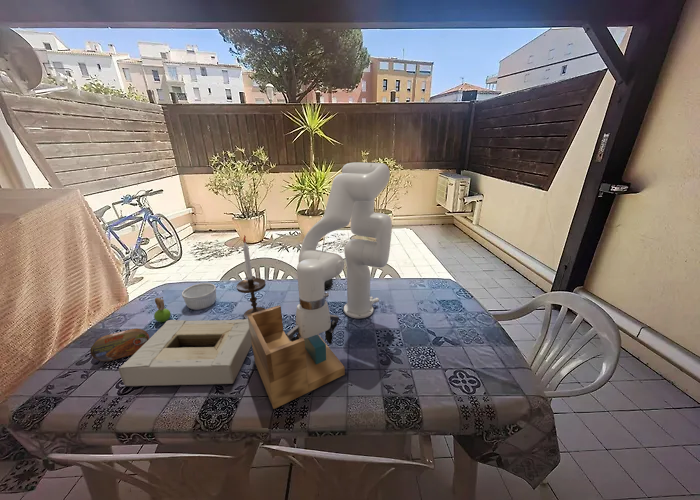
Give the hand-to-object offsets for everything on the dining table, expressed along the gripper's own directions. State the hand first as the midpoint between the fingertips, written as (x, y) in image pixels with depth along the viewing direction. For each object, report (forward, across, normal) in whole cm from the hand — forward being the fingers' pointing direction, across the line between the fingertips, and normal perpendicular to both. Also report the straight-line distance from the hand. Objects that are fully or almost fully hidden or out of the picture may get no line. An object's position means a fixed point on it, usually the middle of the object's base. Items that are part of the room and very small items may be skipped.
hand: (315, 347), depth 86 cm
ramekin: (+6, +28, -59) cm, 65 cm away
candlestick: (+6, +10, -37) cm, 39 cm away
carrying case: (+6, -23, -47) cm, 53 cm away
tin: (+6, +53, -37) cm, 65 cm away
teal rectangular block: (+2, 0, 0) cm, 2 cm away
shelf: (+5, +6, 0) cm, 8 cm away
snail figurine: (+6, +42, -52) cm, 67 cm away
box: (+6, +32, -22) cm, 39 cm away
